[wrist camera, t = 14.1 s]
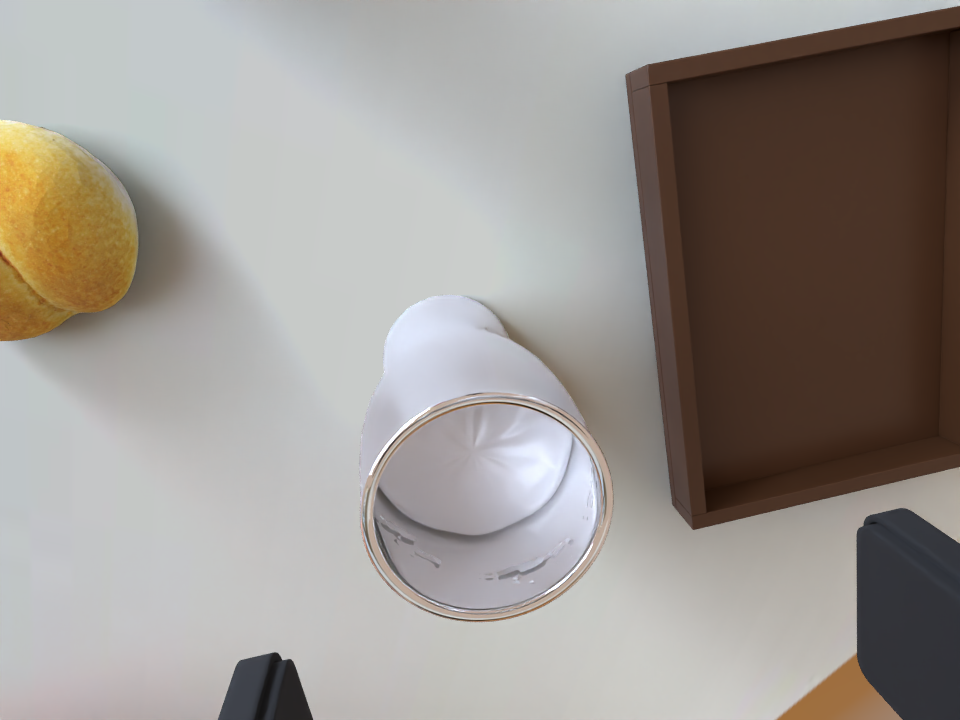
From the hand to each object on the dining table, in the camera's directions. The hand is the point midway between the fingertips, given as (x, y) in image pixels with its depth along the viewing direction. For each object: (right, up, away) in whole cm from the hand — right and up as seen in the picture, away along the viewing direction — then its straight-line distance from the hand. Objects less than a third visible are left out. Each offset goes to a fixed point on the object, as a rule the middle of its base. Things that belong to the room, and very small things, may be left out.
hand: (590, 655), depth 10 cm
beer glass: (-3, +5, +21) cm, 21 cm away
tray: (+14, +9, +21) cm, 27 cm away
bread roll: (-21, +10, +17) cm, 29 cm away
